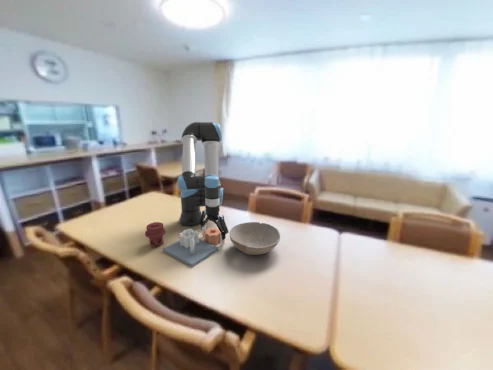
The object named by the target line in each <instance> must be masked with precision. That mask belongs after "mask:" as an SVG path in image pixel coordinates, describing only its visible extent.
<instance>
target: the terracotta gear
mask: <svg viewBox="0 0 493 370" xmlns="http://www.w3.org/2000/svg"><path fill="white" fill-rule="evenodd" d="M220 234H221V232H220V230H219V229H218V227H213V228H212V227H208V228H207V229H206V230H205V231H204V240H203V241H205V242H207V243H209V244H212V245H215V246H216V245H219V243H220Z"/></svg>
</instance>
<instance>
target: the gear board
mask: <svg viewBox="0 0 493 370" xmlns="http://www.w3.org/2000/svg"><path fill="white" fill-rule="evenodd" d="M191 229H192V228H187V229H186V230H187V235H191ZM219 249H220V248H219V246H216V245H215V244H209V243H207V242H205V241H204V240H202V239H200V238H199V243H198V244H196V245H195V246H194V238H191V239H190V247H188V248H185V246H180V239H178V240H177V241H175V242H173V243H171V244H169V245H167V246H165V247H163V248H162V252H163V253H166V254H167V255H169V256H171V257H173V258H175V259H177V260H178V261H181V262H183V263H184V264H186V265H187V266H190V267H191V268H194V267H195V266H196V265H199V264H200V263H202V262H204V260H206V259H208V258H209V257H211V256H212V255H213V254H215V253H217V252H218V251H220V250H219Z"/></svg>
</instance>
